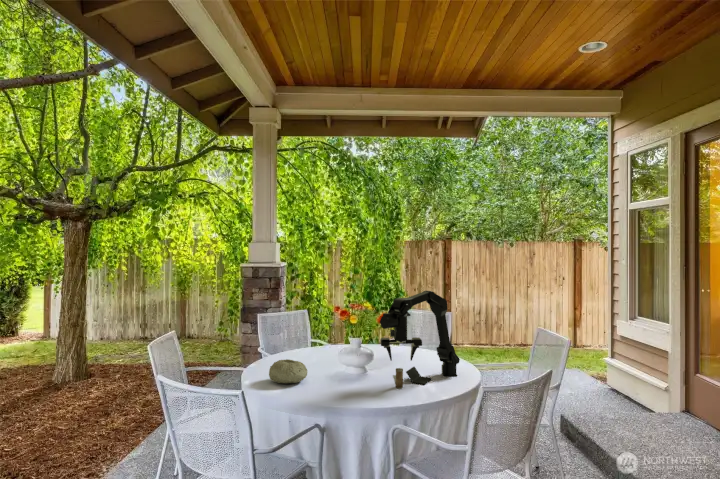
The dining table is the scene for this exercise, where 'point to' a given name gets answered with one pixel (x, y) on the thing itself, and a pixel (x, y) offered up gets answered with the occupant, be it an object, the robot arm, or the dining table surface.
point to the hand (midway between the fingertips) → (401, 360)
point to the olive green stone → (287, 371)
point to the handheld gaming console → (417, 377)
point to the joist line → (395, 380)
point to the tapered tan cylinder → (399, 377)
